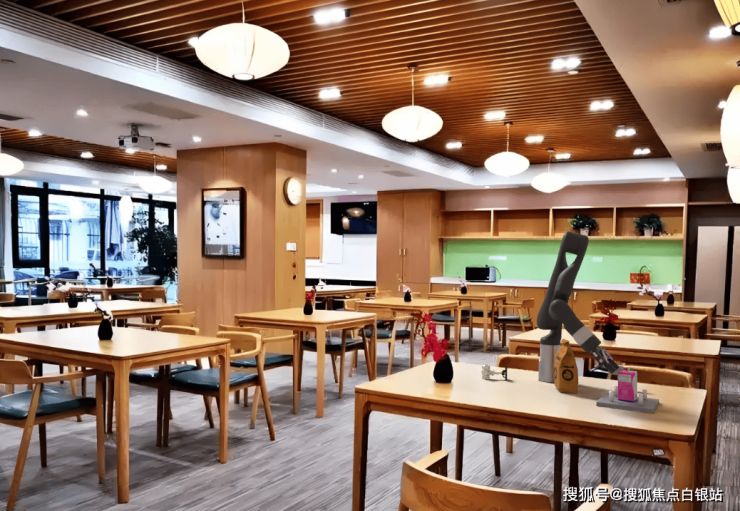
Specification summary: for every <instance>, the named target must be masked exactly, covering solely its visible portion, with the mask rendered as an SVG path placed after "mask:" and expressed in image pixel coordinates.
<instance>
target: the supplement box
mask: <svg viewBox="0 0 740 511" xmlns="http://www.w3.org/2000/svg"><path fill="white" fill-rule="evenodd" d="M617 386H618V400H620V401H626V402H632V403H633V402H635V401H637V400H638V399H637V397H638V371H636V370H633V371H628V369H627V370H626V369H625V370H622V371H619V372H618V379H617Z"/></svg>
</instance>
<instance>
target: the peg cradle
mask: <svg viewBox="0 0 740 511" xmlns="http://www.w3.org/2000/svg"><path fill="white" fill-rule="evenodd" d="M613 389H614V390H609V391H608V392H605V394H603V395H602V396H601V397H600V398H599V399H597V401H596V404H595V405H596V406H597V407H602V408H610V409H611V408H612V409H617V410H624V409H625V411H627V410H628V411H631V412H632V411H633V412H634V411H635V412H639V411H640V412H641V413H647V412H648V414H653V413H654V412H655V410H656V409H657V407H658V406H659V404H660V399H658V398H654V397H653V398H651V397H648V389H642V393H638V396H637V399H638V400H637V401H635V402H633V403H632V402H626V401H620V400H618V385H615V386H614V387H613ZM657 405H658V406H657Z"/></svg>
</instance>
